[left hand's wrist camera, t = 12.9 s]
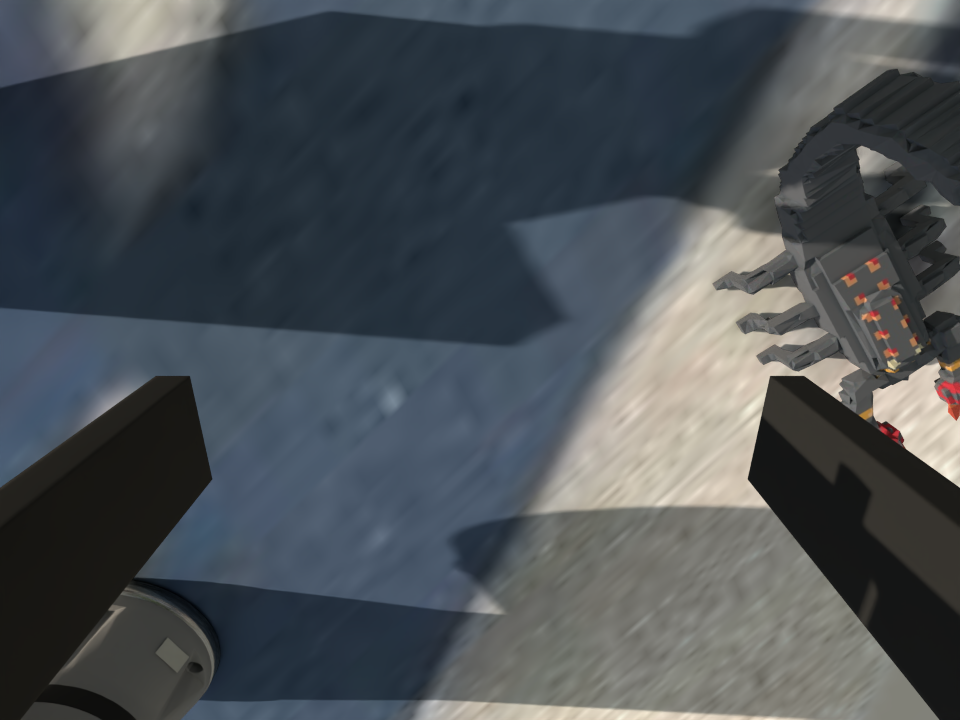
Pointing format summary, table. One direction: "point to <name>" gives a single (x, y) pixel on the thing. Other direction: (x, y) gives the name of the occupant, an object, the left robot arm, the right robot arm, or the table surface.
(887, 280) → the toy
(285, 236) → the table surface
